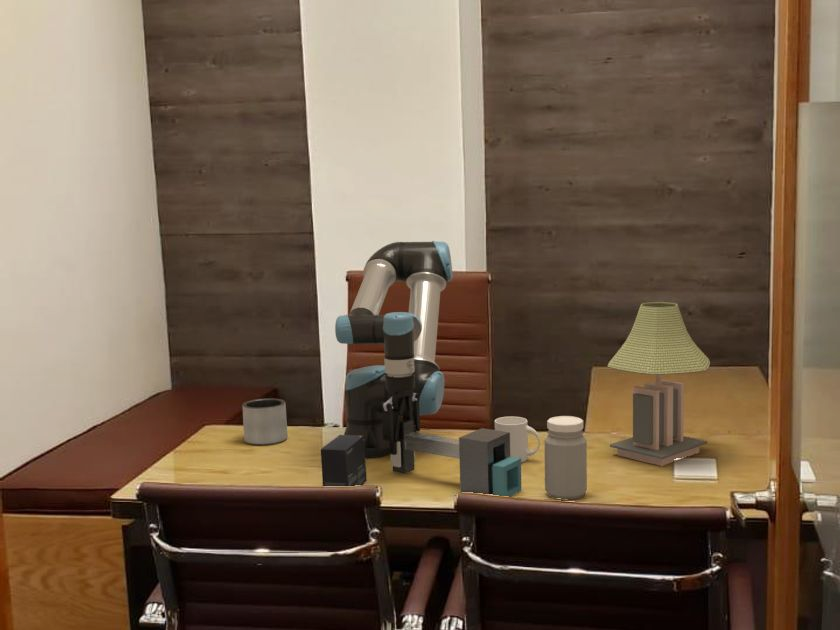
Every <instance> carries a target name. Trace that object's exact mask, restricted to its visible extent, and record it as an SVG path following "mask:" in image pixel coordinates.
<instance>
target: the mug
mask: <svg viewBox="0 0 840 630" xmlns="http://www.w3.org/2000/svg"><path fill="white" fill-rule="evenodd" d="M494 430H497V431H504V432H510V457H515V458H521V464H522V463H525V462H526V461H528V457H530V456H534V455H535V454H537V453H538V451H540V450H539V449H540V446H541V438H540V435H539V433H538V431H536V430H535V429H534V428H533V427H532V426H529V425H528V420H527V418H525V417H521V416H503V417H502V416H501V417H498V418H496V419H494ZM529 434H532V435H534V436H535V437H536V439H537V441H538V445H537V447H536V448H535V449H531V448H528V447H529V444H528V435H529Z"/></svg>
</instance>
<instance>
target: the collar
mask: <svg viewBox="0 0 840 630" xmlns="http://www.w3.org/2000/svg"><path fill="white" fill-rule="evenodd" d="M492 470H493V495H499V496H510V497H512V496H514V495H516V494H517V493H519V492H521V491H522V463H521V458H515V457H508V458H506V459H504V460H502V461H500V462H498V463H496V464H494V465H492ZM507 476H508V485H507ZM511 495H512V496H511Z"/></svg>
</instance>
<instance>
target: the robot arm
mask: <svg viewBox="0 0 840 630" xmlns="http://www.w3.org/2000/svg"><path fill="white" fill-rule="evenodd" d="M451 258H452V256H451V251H450V247H449V244H448V243H446V242H445V241H435V240H431V241H395V242H391V243H389V244H386V245H384V246H383V247H381V248H379V249H378V250H376V251H375V252H374V253H373V254H372V255H371V256H370V257H369V258H368V259H367V261H366V263H365V266H364V267H363V271H362V275H363V279H362V282H361V284H360V286H359V290H358V291H357V295H356V297H355V299H354V302H353V304H352V307H351V309H350V312H349V314H345V315H339V316H338V317H337V318H336V320H335V327H334V329H335V330H334V331H335V338H336V340H337V342H338V343H340V344H346V345H347V344H348V345H372V344H373V345H383V347H384V348H383V349H384V359H383V360H384V364H383V365H381V364H378V365H377V364H375V365H369V366H364V367H359V368H355V369H353V370H350V371H349V372H348V373H347V374H346V376H345V387H344V391H345V404H346V405H345V407H346V427H345V430H344V431H345V432H344V434H343V435H360V436H364V443H365V459H367V458H380V457H384V456H388V455H390V466H391V467H392V466H395V467H401V447H400V442H399V441H398V437H399V429H400V421H401V418H406V419H412V420H413V432H416V433H420V430H421V419H420V418H421V416H425V415H434V414H436V413H437V412H438V411H439V410H440V408H441V406H442V403H443V399H444V395H445V381H446V379H445V374H444V373H443V372H442V371H440V370H441V369H440V366H439V365H438V364H437V363H436V352H437V351H436V349H437V340H438V339H437V337H438V326H439V314H440V313H439V312H440V301H441V292H443V291H444V290H445V289H446V287H447V282H448V283H449V282H452V281H453V275H454V274H453V263H452V259H451ZM397 282H406V286H407V287H408V288H409V289H410V293H409V294H410V295H409V304H408V312H407V311H398V312H397V311H394V312H388V313H385V314H383V315H382V314H381V315H380V312H381V309H382V308H383V307H382V306H383V304H384V301H385V299H386V297H387V293H388V290H389V288H390V287H392V285H393V284H395V283H397ZM415 452H416V451H414V462H415V461H416V455H415Z"/></svg>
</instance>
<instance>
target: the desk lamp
mask: <svg viewBox="0 0 840 630" xmlns="http://www.w3.org/2000/svg"><path fill="white" fill-rule="evenodd" d="M679 307H680V306H679V305H678V303H676V302H668V301H667V302H666V301H665V302H664V301H652V302H642V303H641V304H640V306H639V308H638V312H637V315H636V317H635V320H634V323H633V325H632V327H631V331H630V332H629V334H628V336H627V338H626V340H625V341H624V343H623V344H622V345H621V347H620V348H619V349H618V351H616V353H615V355H613V357H612V358H611V360H609V362H608V364H607V367H608V369H613V370H618V371H622V372H628V373H634V374H640V375H651V376H653V375H655V382H650V381H649V382H646V383H644V385H643V386H644V387H643V386H639V385H635V386H633V388H632V389H633V391H632V392H633V394H632V437H629V438H626V439H623V440H620V441H616V442H614V443H611V444H609V448H613V449H616V452H617V453H616V455H617V456H619V457H623V458H628V459H632V460H635V461H640V462H643V463H648V464H653V465H657V466H660V467H663V466H666V465H668V464H671V463H674V462H675V461H674V459H676V458H682V457H685V456H688V457H690V456H689V455H691V454H693V455H695V454H694V453H696V454H698V453H697V452H699V453H700V447H701V446H703V445H706V444H708V441H707V440H702V439H698V438H693V437H690V436H684V426H685V425H684V422H685V421H684V420H685V418H684V416H685V414H684V413H685V408H684V407H685V406H684V405H685V399H684V398H685V383H684V382H679V381H672V380H667V379H663V376H662V375H680V374H691V373H699V372H705V371H706V370H707V369H708V368H709V367H710V364H711V362H710V359H709V357H707V355H706V354H705V353H704V352H703V351H702V350H701V348H700V347H698V346H697V344H696V343H695V341H693V339H692V337H691V336H690V334H689V332H688V331H687V327H686V325H685V323H684V319H683V316H682V314H681V311H680V308H679ZM691 456H692V455H691ZM685 458H686V457H685ZM682 459H683V458H682ZM673 461H674V462H673Z"/></svg>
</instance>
